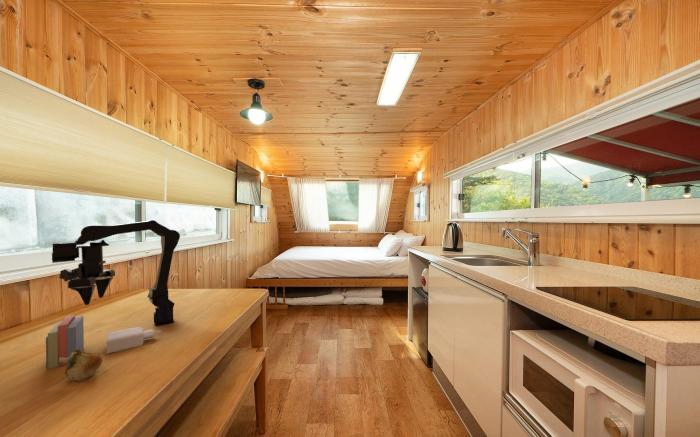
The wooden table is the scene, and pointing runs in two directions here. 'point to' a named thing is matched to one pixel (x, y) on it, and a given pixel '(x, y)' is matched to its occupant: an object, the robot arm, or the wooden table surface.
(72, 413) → the wooden table surface
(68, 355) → the book row
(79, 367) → the onion
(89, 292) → the robot arm
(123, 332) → the charger
